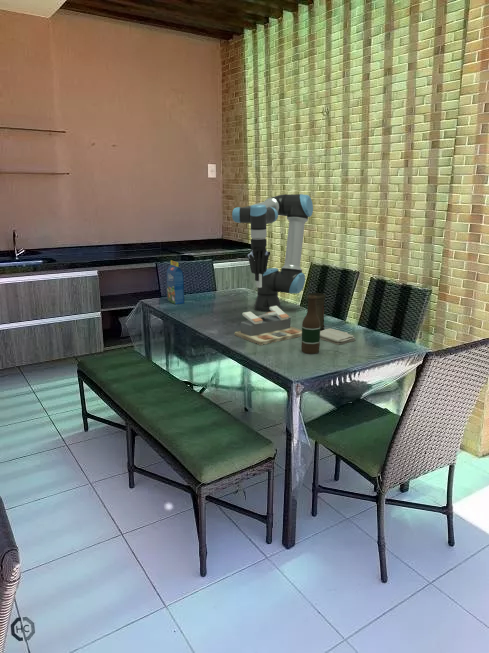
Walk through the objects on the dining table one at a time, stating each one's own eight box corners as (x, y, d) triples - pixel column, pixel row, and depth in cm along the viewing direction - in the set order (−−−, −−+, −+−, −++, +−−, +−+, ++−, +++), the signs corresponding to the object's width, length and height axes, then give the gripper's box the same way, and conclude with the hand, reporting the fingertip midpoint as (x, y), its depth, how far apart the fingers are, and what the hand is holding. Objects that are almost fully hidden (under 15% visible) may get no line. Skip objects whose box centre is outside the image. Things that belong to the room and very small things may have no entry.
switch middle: (264, 319, 241) (263, 314, 241) (276, 316, 233) (275, 310, 233) (257, 321, 238) (255, 315, 238) (269, 317, 230) (268, 312, 230)
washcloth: (339, 346, 219) (339, 339, 218) (310, 337, 233) (310, 331, 232) (357, 341, 226) (357, 335, 225) (327, 332, 240) (327, 326, 239)
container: (313, 334, 236) (314, 297, 231) (302, 329, 244) (303, 293, 239) (328, 331, 240) (330, 295, 235) (317, 327, 248) (318, 291, 243)
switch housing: (279, 324, 247) (280, 314, 246) (290, 327, 241) (290, 317, 240) (240, 332, 234) (240, 322, 232) (250, 336, 227) (250, 325, 226)
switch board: (280, 325, 250) (280, 322, 250) (307, 334, 235) (307, 331, 234) (234, 335, 235) (234, 331, 234) (260, 345, 219) (260, 341, 218)
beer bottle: (299, 348, 214) (301, 294, 208) (317, 348, 215) (319, 293, 209) (303, 354, 207) (304, 298, 200) (321, 354, 207) (323, 297, 201)
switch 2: (275, 309, 245) (276, 305, 244) (287, 320, 239) (289, 316, 238) (268, 310, 243) (269, 306, 241) (280, 322, 237) (282, 317, 235)
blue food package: (175, 304, 297) (173, 262, 291) (167, 300, 307) (165, 260, 301) (184, 303, 300) (183, 262, 294) (176, 299, 310) (175, 259, 304)
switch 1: (249, 315, 236) (250, 310, 235) (262, 324, 229) (262, 319, 228) (242, 316, 234) (242, 312, 233) (254, 326, 227) (255, 321, 226)
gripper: (264, 236, 242) (264, 283, 249) (242, 238, 235) (243, 287, 242) (274, 237, 236) (274, 286, 243) (252, 240, 229) (253, 290, 236)
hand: (259, 287), depth 242 cm, fingers closed
